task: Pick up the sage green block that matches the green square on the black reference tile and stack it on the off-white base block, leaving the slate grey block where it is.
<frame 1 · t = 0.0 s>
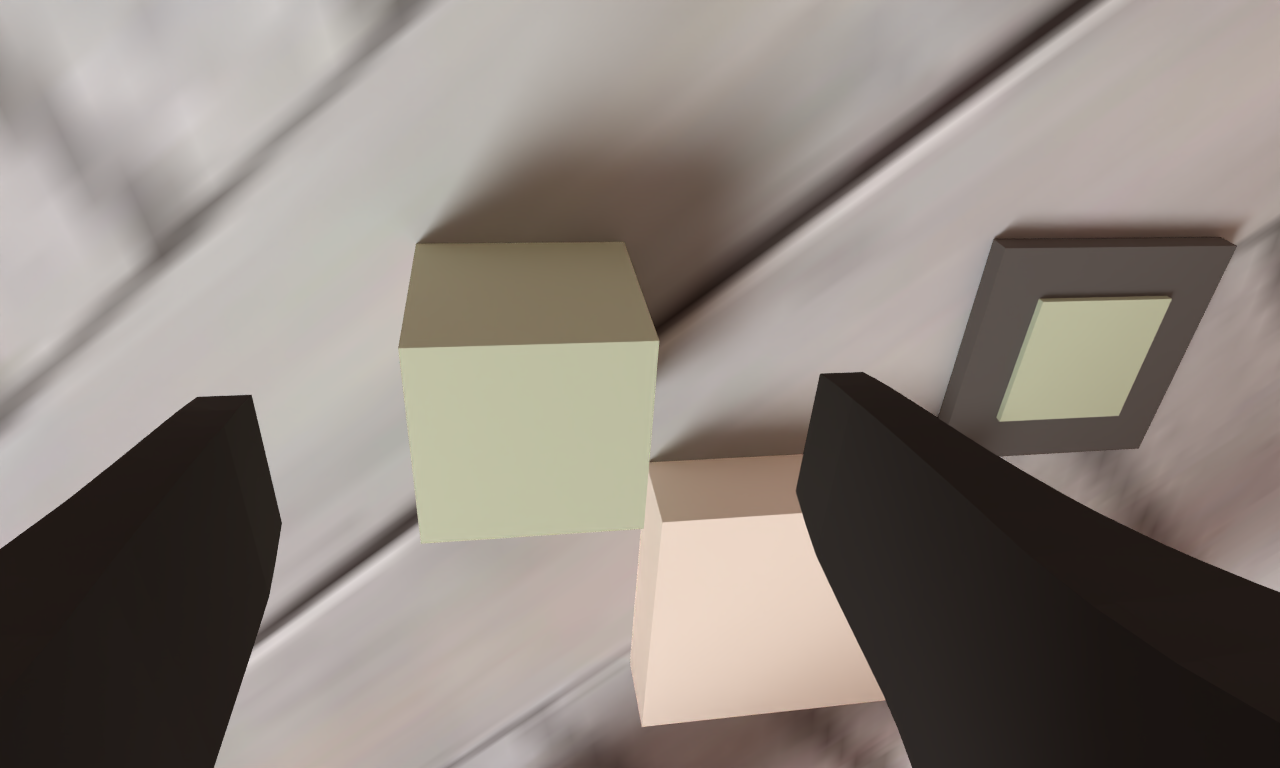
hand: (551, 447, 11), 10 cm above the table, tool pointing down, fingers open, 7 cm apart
base block: (766, 552, 28), on the table
sage block: (523, 331, 21), on the table
reference tile: (1066, 348, 24), on the table
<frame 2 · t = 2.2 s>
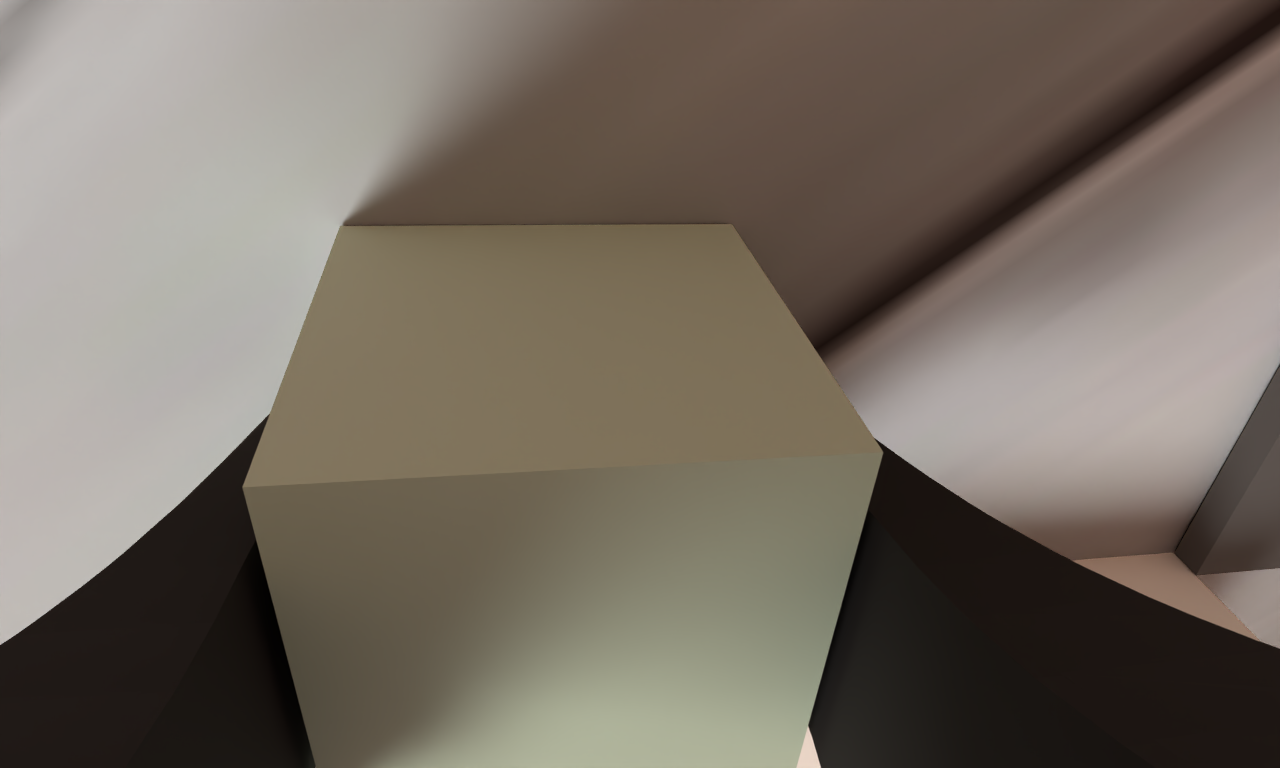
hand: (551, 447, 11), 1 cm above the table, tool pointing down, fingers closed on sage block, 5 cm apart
base block: (902, 699, 18), on the table
sage block: (544, 387, 12), on the table, touching gripper
when the fingers open (5 cm above the table, at t = 5.8 s): sage block drops 1 cm, point 2 cm above the table.
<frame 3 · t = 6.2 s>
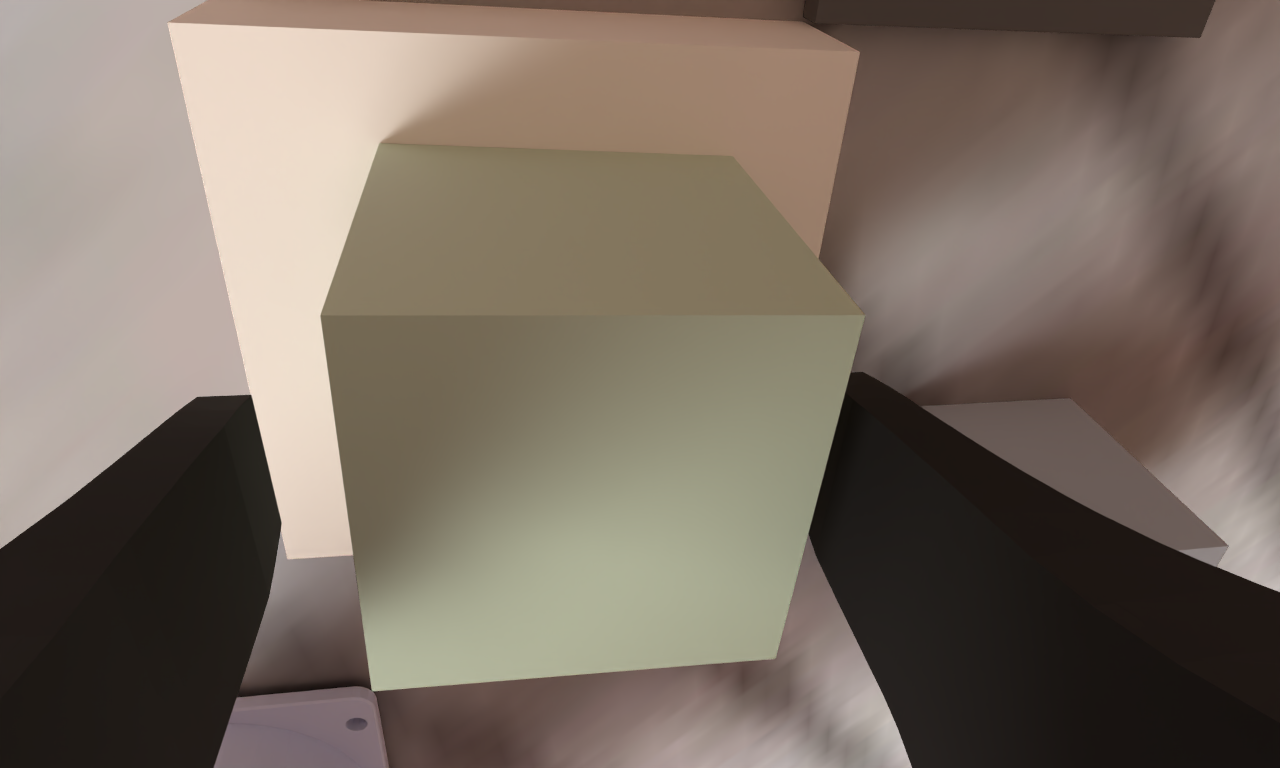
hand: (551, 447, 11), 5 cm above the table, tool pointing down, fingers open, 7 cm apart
base block: (529, 259, 16), on the table
sage block: (557, 307, 13), point 2 cm above the table
grey block: (943, 485, 20), on the table
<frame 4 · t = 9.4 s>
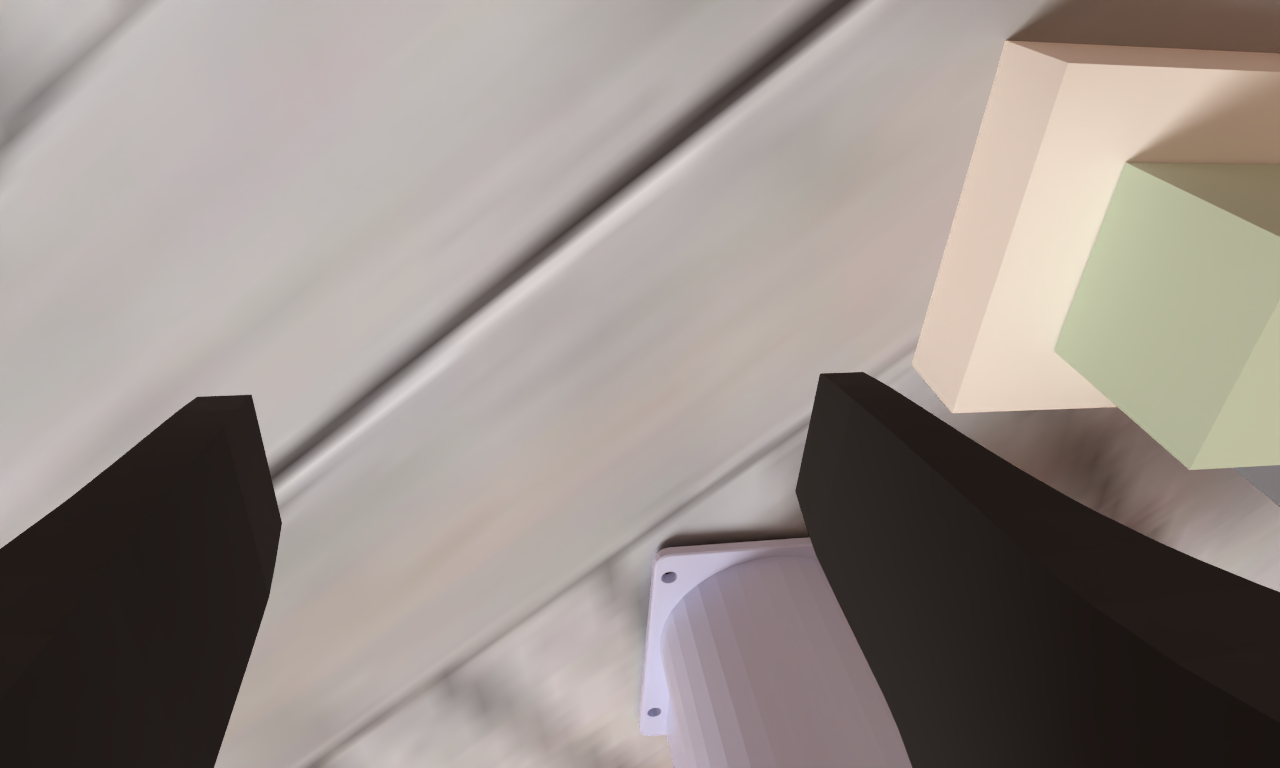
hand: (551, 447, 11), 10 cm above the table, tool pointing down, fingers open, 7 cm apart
base block: (1092, 214, 23), on the table
sage block: (1177, 262, 21), point 3 cm above the table
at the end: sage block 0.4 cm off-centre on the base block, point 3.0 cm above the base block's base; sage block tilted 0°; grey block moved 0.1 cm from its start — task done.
